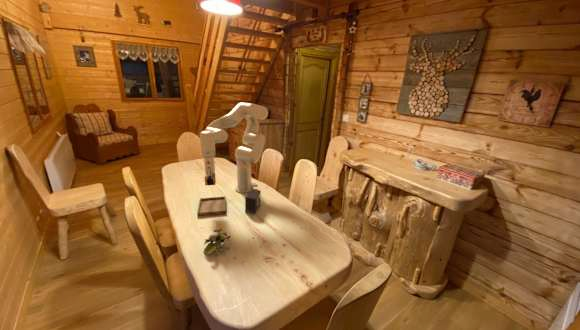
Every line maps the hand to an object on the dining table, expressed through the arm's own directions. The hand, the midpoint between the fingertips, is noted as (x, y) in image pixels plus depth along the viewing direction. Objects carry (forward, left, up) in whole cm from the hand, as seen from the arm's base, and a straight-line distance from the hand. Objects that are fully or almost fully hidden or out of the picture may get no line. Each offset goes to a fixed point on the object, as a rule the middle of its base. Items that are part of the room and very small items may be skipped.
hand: (210, 182), depth 139 cm
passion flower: (-4, +39, -17) cm, 43 cm away
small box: (-24, +6, -17) cm, 30 cm away
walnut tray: (0, 0, -17) cm, 17 cm away
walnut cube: (0, 0, -1) cm, 1 cm away
